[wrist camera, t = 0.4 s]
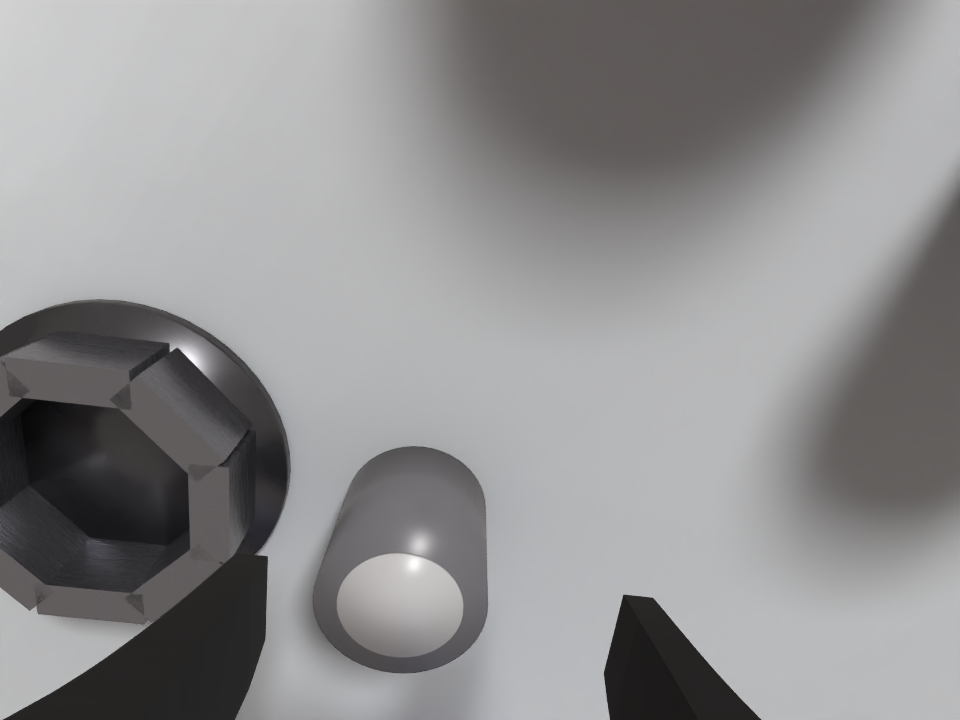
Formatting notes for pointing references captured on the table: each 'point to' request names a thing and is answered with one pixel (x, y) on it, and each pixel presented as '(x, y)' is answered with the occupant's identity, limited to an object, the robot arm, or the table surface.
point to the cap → (406, 563)
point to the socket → (129, 460)
